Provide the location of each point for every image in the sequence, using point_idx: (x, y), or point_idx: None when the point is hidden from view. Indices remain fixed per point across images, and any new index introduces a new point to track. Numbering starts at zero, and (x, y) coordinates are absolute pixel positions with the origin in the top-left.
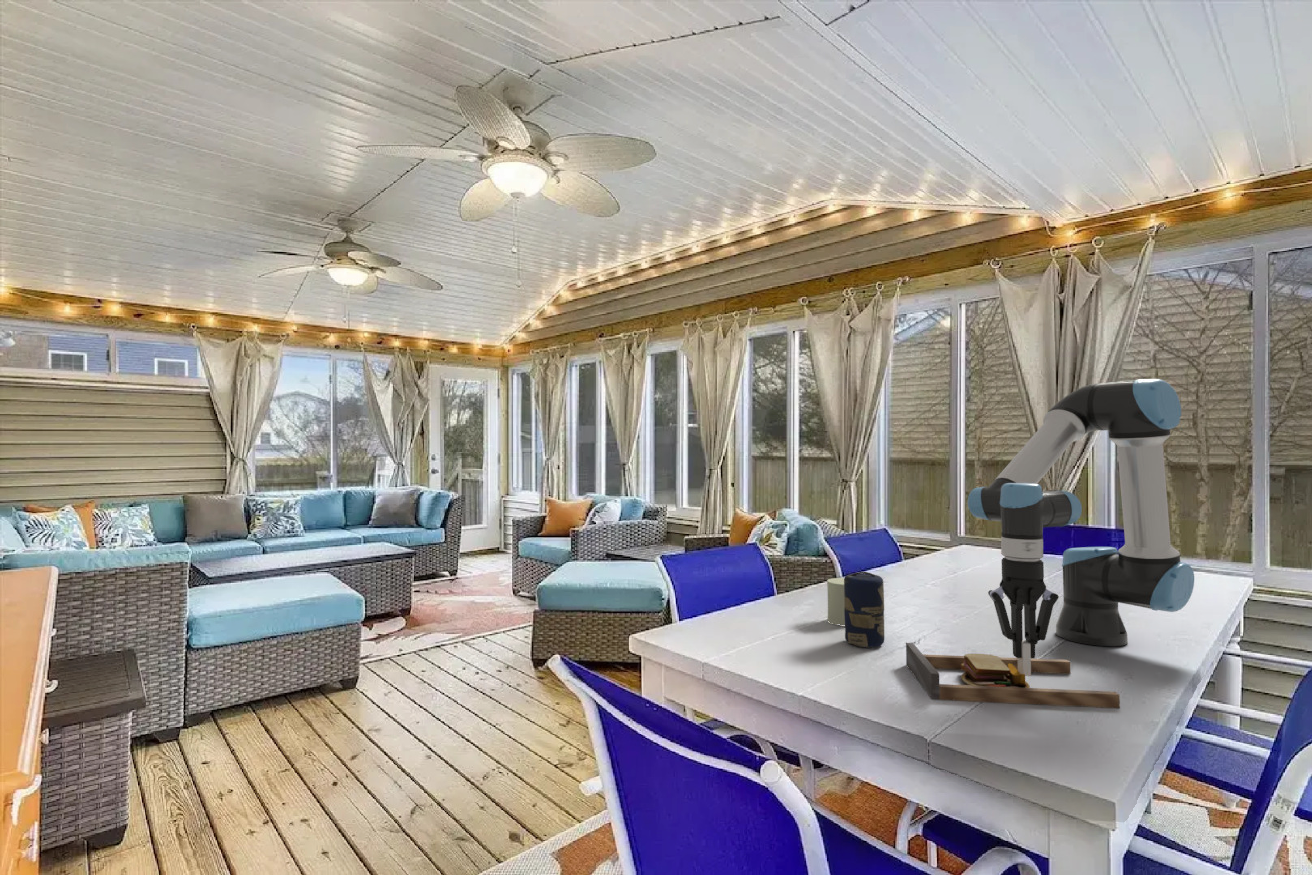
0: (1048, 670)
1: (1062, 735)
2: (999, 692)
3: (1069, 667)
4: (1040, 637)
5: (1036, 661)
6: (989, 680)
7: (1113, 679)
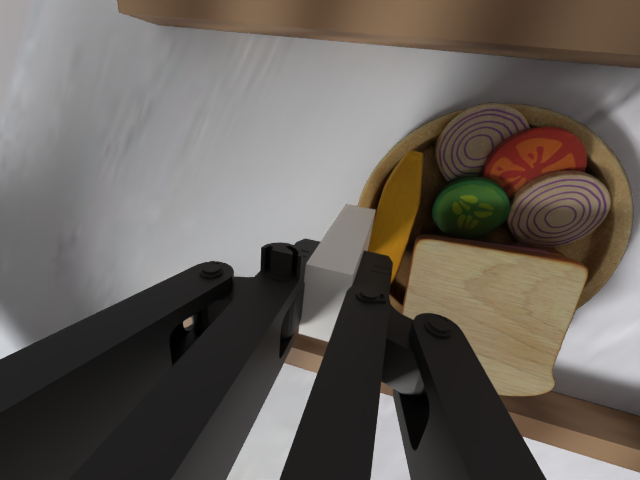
0: None
1: None
2: None
3: None
4: (223, 275)
5: None
6: (496, 243)
7: (98, 239)
